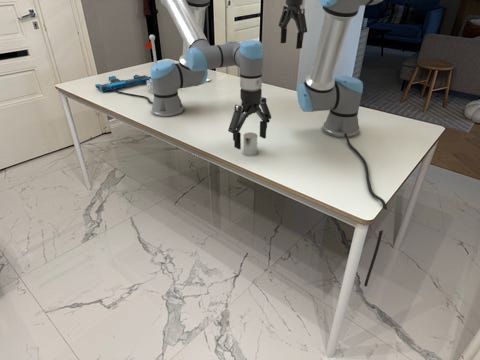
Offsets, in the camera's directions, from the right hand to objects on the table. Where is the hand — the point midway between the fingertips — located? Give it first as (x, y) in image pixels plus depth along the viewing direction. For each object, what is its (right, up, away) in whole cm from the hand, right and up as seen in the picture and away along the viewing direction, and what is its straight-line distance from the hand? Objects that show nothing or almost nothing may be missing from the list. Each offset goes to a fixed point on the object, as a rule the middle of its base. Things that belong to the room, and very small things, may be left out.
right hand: (290, 45), depth 161 cm
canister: (-20, -53, -28) cm, 64 cm away
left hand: (-20, -50, -31) cm, 62 cm away
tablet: (-60, +1, +55) cm, 81 cm away
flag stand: (-71, -12, +35) cm, 80 cm away
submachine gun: (-95, -5, +46) cm, 106 cm away
